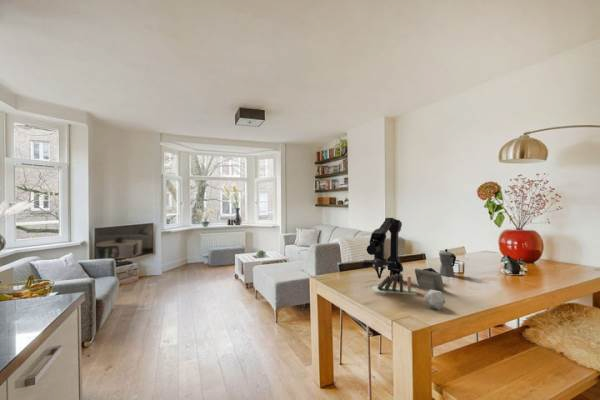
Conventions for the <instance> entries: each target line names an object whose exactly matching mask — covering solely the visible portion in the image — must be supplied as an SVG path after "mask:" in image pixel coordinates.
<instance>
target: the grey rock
mask: <svg viewBox="0 0 600 400" xmlns="http://www.w3.org/2000/svg"><path fill="white" fill-rule="evenodd" d="M423 297H424V300H425V303H426V305H427V307H428V308H431V309H435V310H441V309H442V307H443V306H444V305H445V304H446V300H445V297H444V294H443V291H442V290H431V289H430V290H427V292H426V294H425V295H424V296H423Z"/></svg>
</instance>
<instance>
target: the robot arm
mask: <svg viewBox="0 0 600 400" xmlns="http://www.w3.org/2000/svg"><path fill="white" fill-rule="evenodd" d="M402 223H403V222H402V221H401V220H400V219H396V218H394V217H385V218H384V221H383V223H382V224H381V225H380V227H379V228H376V229H374V230H373V231H372V233H371V236H370V239H369V244H368V245H367V246H366V252H367V254H369V255H370V256H373V261H371V260H369V259H364V260H363V261H362V267H363V268H364V267H366V268H368V267H370V266H372V269H374V270H375V272H376V275H377V277H378V279H381V277H382V274H383V271H384V270H386V268H387V271H389V277H391V276H392V274H393V275H395V274H398V281H397V282H400V274H402V272H403V271H404V267H403V265H402V262H401V258H400V256H399V234H400V232H401V230H402V225H403V224H402ZM388 232H389V233H390V253H389V254H390V255H389V256H388V257H387V258H385V241H386V239H387V233H388ZM393 282H394V280H393Z"/></svg>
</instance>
